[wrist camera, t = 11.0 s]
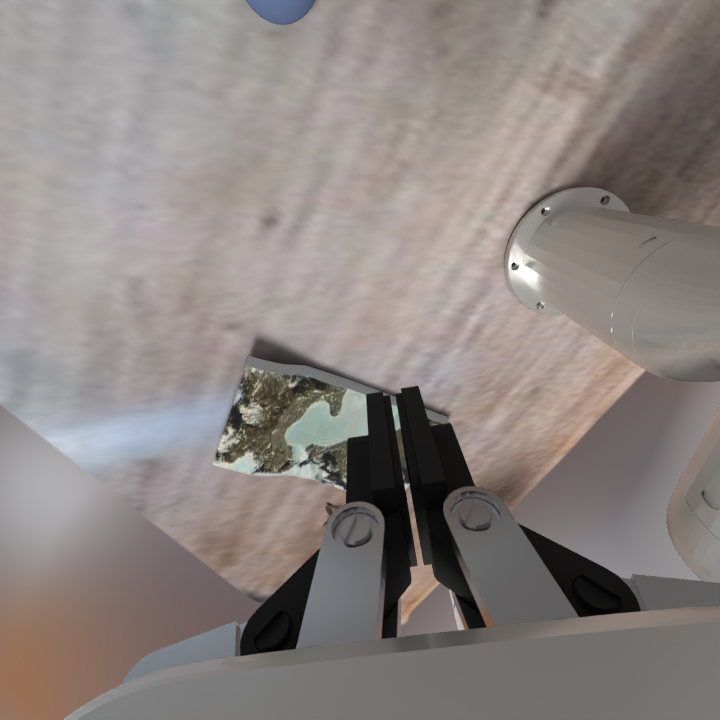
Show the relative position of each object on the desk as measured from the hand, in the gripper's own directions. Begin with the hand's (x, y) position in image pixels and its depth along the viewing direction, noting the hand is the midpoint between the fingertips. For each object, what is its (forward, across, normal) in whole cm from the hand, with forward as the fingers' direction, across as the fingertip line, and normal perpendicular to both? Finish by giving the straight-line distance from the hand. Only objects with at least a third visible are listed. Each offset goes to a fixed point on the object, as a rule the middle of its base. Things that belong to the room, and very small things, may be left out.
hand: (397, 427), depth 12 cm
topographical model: (+30, +8, +22) cm, 38 cm away
